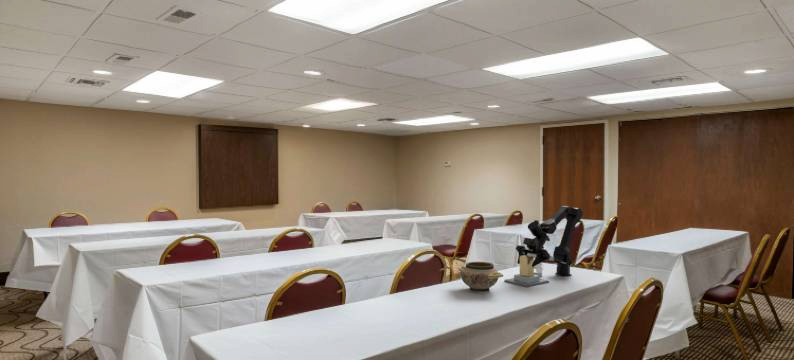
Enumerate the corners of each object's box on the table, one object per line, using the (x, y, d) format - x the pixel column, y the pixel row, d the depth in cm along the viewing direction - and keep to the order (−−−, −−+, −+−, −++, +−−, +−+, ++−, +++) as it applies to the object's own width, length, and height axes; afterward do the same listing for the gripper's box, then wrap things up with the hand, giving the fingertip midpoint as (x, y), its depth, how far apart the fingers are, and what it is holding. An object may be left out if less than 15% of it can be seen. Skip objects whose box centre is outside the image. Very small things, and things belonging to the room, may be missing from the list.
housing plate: (527, 277, 248) (527, 271, 248) (548, 282, 236) (548, 275, 236) (504, 281, 238) (504, 274, 238) (525, 287, 226) (525, 280, 226)
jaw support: (548, 267, 258) (544, 258, 253) (545, 281, 254) (541, 271, 248) (527, 265, 265) (523, 256, 260) (524, 278, 260) (520, 269, 255)
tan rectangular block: (525, 278, 240) (526, 255, 240) (533, 280, 236) (533, 256, 236) (519, 279, 238) (519, 255, 237) (527, 281, 233) (527, 257, 233)
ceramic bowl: (508, 299, 214) (513, 267, 217) (485, 295, 203) (491, 262, 206) (468, 289, 233) (473, 260, 235) (445, 285, 222) (451, 255, 224)
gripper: (518, 230, 247) (503, 252, 240) (546, 234, 231) (532, 257, 225) (527, 243, 251) (513, 265, 245) (556, 248, 236) (542, 271, 230)
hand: (524, 265), depth 236 cm, fingers open, 9 cm apart
